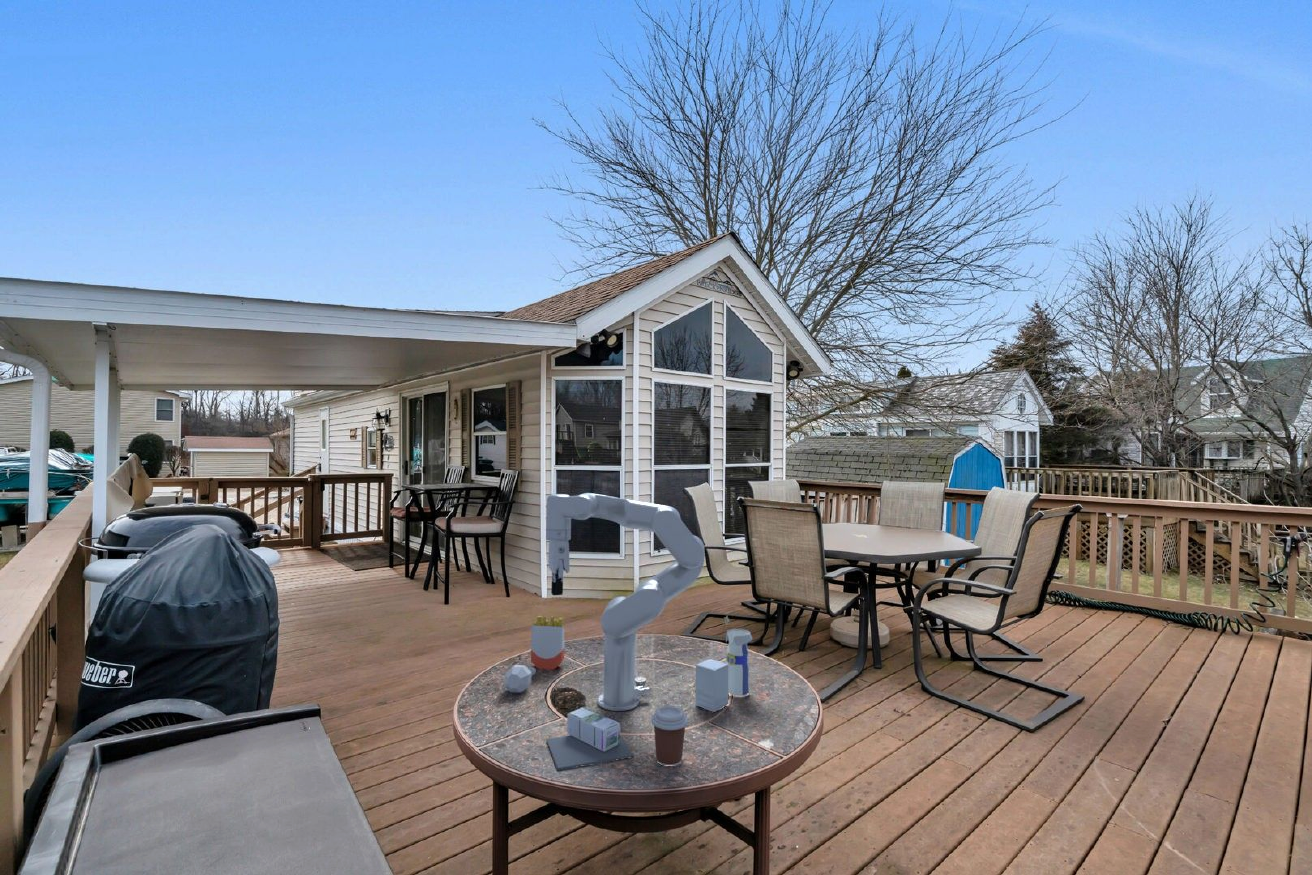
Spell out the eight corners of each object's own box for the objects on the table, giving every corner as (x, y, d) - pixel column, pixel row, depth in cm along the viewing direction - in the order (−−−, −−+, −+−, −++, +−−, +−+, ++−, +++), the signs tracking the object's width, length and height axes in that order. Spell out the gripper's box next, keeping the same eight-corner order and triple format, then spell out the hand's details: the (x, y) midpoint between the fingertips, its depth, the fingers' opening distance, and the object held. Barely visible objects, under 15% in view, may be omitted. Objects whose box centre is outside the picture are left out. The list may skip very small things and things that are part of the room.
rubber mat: (615, 730, 164) (616, 728, 164) (633, 757, 150) (633, 755, 150) (546, 741, 157) (546, 738, 157) (557, 770, 143) (558, 767, 143)
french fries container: (534, 663, 213) (535, 612, 213) (564, 665, 212) (565, 614, 212) (530, 668, 208) (531, 616, 209) (561, 670, 207) (562, 617, 208)
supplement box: (729, 706, 181) (729, 664, 181) (714, 713, 175) (714, 670, 176) (709, 698, 186) (710, 658, 186) (694, 706, 180) (695, 663, 181)
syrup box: (566, 734, 160) (604, 753, 150) (566, 712, 160) (605, 730, 150) (582, 726, 164) (620, 745, 155) (582, 705, 164) (621, 722, 155)
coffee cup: (658, 747, 155) (659, 701, 155) (692, 755, 151) (693, 707, 151) (644, 764, 146) (645, 715, 146) (679, 773, 143) (680, 722, 143)
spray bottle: (739, 701, 184) (740, 619, 185) (718, 692, 191) (720, 613, 191) (756, 694, 190) (757, 615, 190) (735, 685, 196) (737, 609, 197)
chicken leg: (545, 679, 201) (537, 654, 203) (530, 689, 184) (522, 662, 186) (522, 688, 201) (514, 664, 203) (505, 699, 184) (497, 672, 186)
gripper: (575, 537, 178) (574, 599, 178) (565, 530, 192) (564, 588, 192) (550, 538, 175) (549, 601, 175) (541, 531, 189) (540, 589, 189)
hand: (557, 594), depth 183 cm, fingers closed
